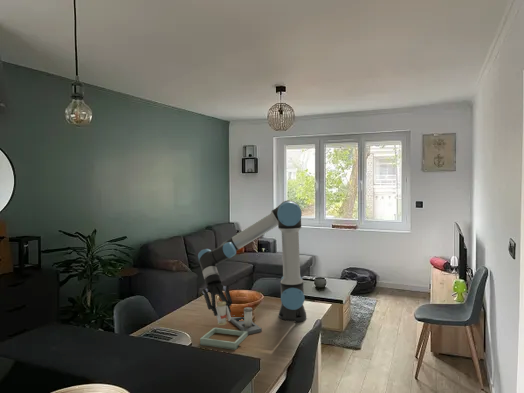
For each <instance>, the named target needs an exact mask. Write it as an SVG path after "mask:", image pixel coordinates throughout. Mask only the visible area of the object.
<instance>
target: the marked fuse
mask: <svg viewBox="0 0 524 393" xmlns="http://www.w3.org/2000/svg"><path fill="white" fill-rule="evenodd" d="M216 307H218V310H219V314H220V317H221V322H220V323H218V322H217V325H218V326H225V325H227V315H226V302H224V301H222V300H221V301H218V302H217V303H216Z"/></svg>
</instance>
